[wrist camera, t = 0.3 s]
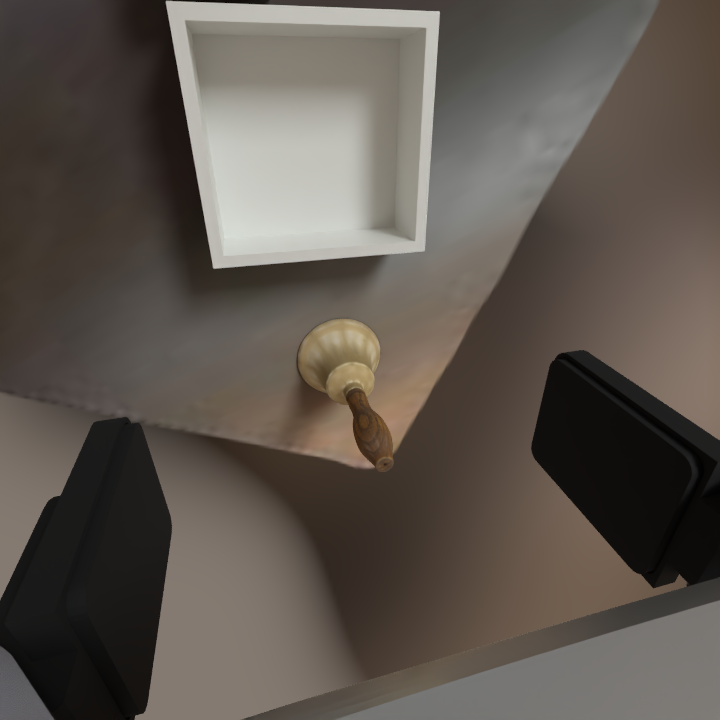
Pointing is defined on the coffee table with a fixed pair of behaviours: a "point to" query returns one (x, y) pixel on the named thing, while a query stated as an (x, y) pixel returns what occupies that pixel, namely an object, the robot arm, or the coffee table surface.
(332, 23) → the big crate
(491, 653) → the robot arm
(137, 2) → the coffee table surface
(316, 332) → the hand bell
